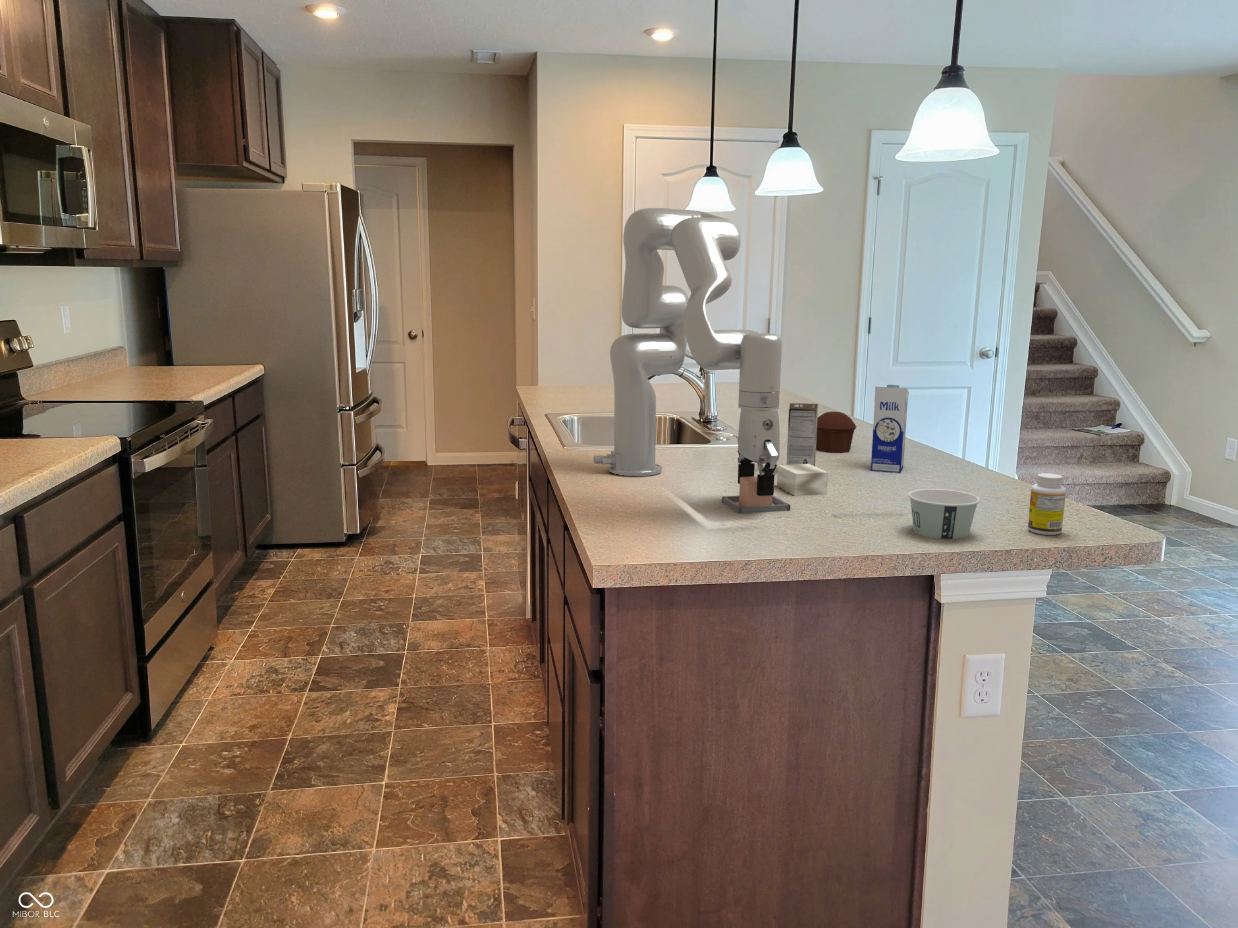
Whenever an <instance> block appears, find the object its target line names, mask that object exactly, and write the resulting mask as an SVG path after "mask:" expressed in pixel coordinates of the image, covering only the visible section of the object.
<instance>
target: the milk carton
mask: <svg viewBox="0 0 1238 928" xmlns="http://www.w3.org/2000/svg"><path fill="white" fill-rule="evenodd" d="M874 389H875V390H874V407H873V408H874V409H873V425H872V428H873V429H872V440H871V441H872V443H871V459H870V460H871V461H870V472H880V471H881V473H893V472H901V473H902V471H903V469H904V461H905V447H906V446H905V445H906V430H907V417H908V416H907V415H908V404H909V403H908V402H909V401H908V400H909V395H910V392H909V389H908V388H907V387H900V385H897V384H887V385H886V386H875V387H874Z"/></svg>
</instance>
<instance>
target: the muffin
mask: <svg viewBox="0 0 1238 928" xmlns="http://www.w3.org/2000/svg"><path fill="white" fill-rule="evenodd" d="M856 429H857V425H856V424H855V422H854V420H853V419H852V418H851V417H850V416H849V415H847V414H846V413H844V412H842V411H841V412H840V411H827V412H824V413H822V414H821V415H819V416H818V417H817V439H816V452H820V453H827V454H844V453H845V454H846V453H850V451H851V448H852V447H851V446H852V443H853V437H854V434H855V430H856Z"/></svg>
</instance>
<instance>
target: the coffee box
mask: <svg viewBox="0 0 1238 928" xmlns="http://www.w3.org/2000/svg"><path fill="white" fill-rule="evenodd" d="M788 407H789V408H788V418H787V419H788V420H787V425H788V427H787V442H786V444H787V449H786V465H792V464H810V465H813V466H815V467H816V455H817V454H816V453H817V450H816V439H817V418H818V417H819V416H818V413H819V409H818V407H819V405H818V403H805V402H804V403H798V402H797V403H796V402H795V403H794V402H793V403H791V402H790V403H789V406H788Z"/></svg>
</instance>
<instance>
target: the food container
mask: <svg viewBox="0 0 1238 928" xmlns="http://www.w3.org/2000/svg"><path fill="white" fill-rule="evenodd" d="M907 497H908V498H909V500H910V507H911V509H910V510H911V515H912V516H911V517H912V526H913V528H912V529H913V531H914V533H916V534H918V535H921V536H923V537H924V536H925V537H928V538H934V539H942V540H958V539H965V538H967V537H968V536H969V535H970V531H971V528H972V523H973V520H974V518H975V517H974V516H975V512H976V511H977V510H976V508H977V506H978V504H979V503H980V502H981V498H980V497H979V496H977V495H975V494H973V493H969V492H967V491H966V492H965V491H960V490H954V489H945V488H944V489H943V488H921V489H914V490H911V491H909V492H908V493H907Z"/></svg>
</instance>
